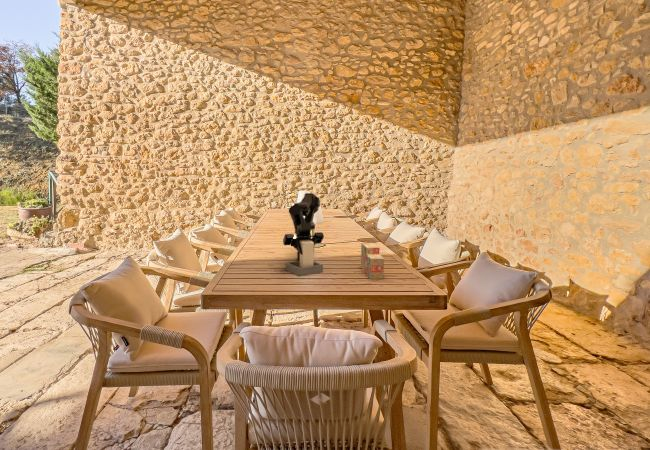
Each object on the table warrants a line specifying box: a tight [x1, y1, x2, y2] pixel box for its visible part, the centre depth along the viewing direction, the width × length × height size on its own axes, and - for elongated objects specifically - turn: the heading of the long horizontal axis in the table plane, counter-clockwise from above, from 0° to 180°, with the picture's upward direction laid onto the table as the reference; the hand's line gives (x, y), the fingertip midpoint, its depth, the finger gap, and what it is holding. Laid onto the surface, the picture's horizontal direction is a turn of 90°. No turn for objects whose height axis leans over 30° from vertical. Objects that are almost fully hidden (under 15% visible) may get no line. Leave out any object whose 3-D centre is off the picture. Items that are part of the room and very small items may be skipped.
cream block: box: [300, 240, 315, 268], centre depth 172 cm, size 5×5×12 cm
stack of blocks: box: [360, 242, 385, 280], centre depth 174 cm, size 21×6×12 cm, turn 5°
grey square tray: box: [284, 260, 324, 277], centre depth 175 cm, size 13×13×4 cm
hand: (307, 253), depth 171 cm, fingers closed on cream block, 5 cm apart
